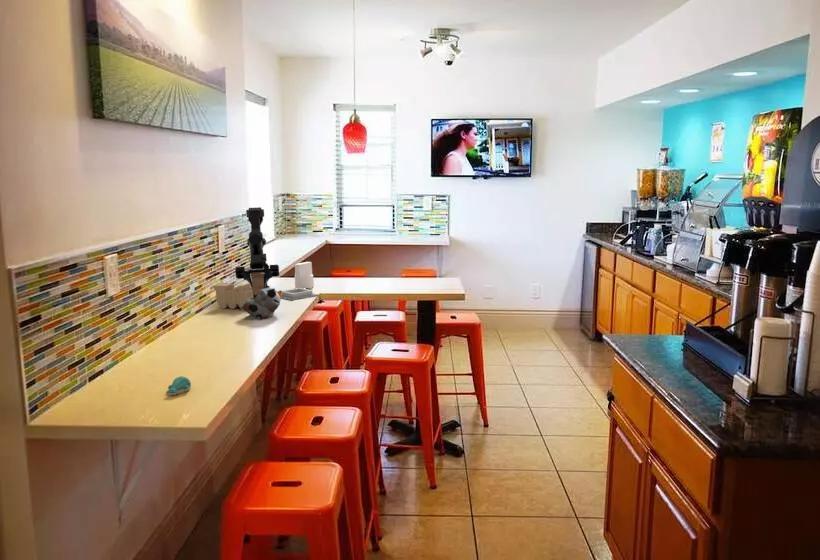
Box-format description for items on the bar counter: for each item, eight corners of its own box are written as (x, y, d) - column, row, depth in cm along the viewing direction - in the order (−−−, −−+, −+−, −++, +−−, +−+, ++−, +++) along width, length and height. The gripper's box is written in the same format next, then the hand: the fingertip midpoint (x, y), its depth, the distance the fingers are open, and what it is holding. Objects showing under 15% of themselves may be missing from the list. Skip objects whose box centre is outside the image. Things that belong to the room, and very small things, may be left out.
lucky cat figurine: (255, 311, 259) (270, 281, 258) (277, 325, 255) (293, 294, 254) (233, 308, 245) (249, 276, 245) (256, 323, 241) (272, 290, 240)
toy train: (249, 310, 263) (247, 286, 262) (214, 308, 269) (213, 285, 267) (257, 307, 268) (255, 283, 267) (222, 305, 274) (221, 282, 272)
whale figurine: (196, 388, 169) (195, 374, 168) (180, 398, 161) (179, 383, 161) (176, 387, 170) (175, 373, 169) (160, 397, 163) (158, 382, 162)
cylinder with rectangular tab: (304, 285, 317) (303, 261, 315) (317, 286, 312) (316, 262, 310) (291, 288, 310) (289, 263, 308) (304, 289, 305) (303, 265, 303)
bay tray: (275, 296, 290) (274, 291, 290) (301, 292, 300) (301, 286, 299) (291, 300, 280) (291, 295, 280) (318, 295, 289) (317, 290, 289)
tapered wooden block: (253, 300, 283) (251, 272, 280) (265, 299, 284) (263, 272, 281) (253, 302, 278) (251, 274, 276) (265, 302, 279) (263, 273, 277)
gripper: (233, 248, 279) (234, 277, 270) (277, 246, 282) (279, 274, 274) (236, 264, 288) (236, 292, 279) (278, 261, 291) (280, 289, 282)
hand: (258, 287), depth 278 cm, fingers closed on tapered wooden block, 5 cm apart
